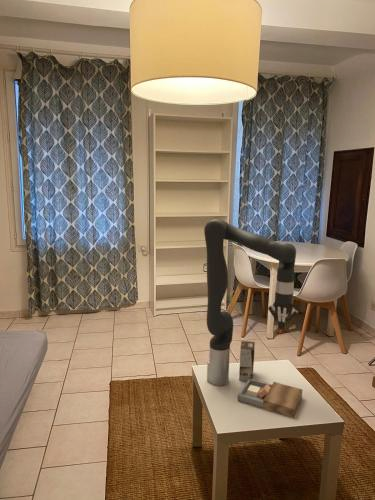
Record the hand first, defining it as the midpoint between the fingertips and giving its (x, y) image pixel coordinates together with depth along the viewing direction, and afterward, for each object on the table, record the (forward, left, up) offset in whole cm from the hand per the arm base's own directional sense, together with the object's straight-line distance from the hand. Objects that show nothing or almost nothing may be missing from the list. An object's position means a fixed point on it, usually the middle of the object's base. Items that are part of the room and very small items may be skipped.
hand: (281, 329), depth 167 cm
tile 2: (-3, -9, -26) cm, 28 cm away
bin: (-7, -10, -29) cm, 31 cm away
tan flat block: (+5, -9, -29) cm, 31 cm away
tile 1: (-8, -9, -26) cm, 29 cm away
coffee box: (-16, +4, -29) cm, 34 cm away
